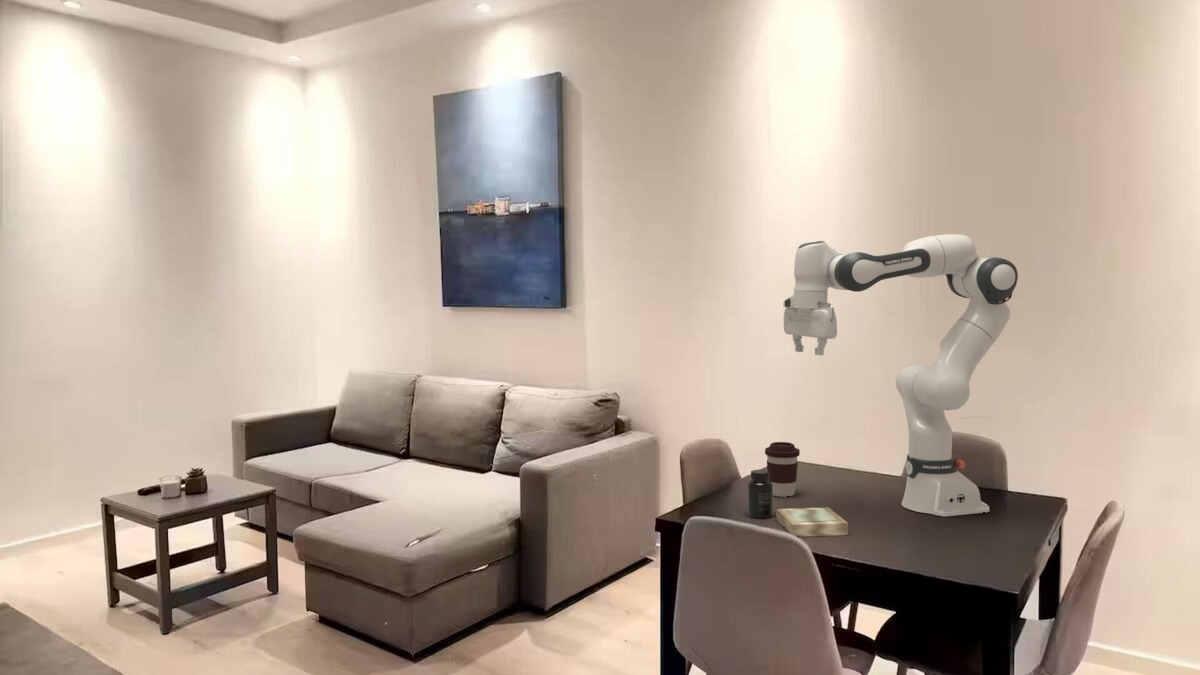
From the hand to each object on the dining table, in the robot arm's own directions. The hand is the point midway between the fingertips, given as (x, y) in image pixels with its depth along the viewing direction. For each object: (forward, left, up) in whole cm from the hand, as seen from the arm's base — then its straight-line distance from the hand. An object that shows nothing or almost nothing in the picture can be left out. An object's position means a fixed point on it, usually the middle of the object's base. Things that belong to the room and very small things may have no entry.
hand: (809, 353), depth 222 cm
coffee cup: (+2, -18, -44) cm, 47 cm away
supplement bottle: (+14, +2, -44) cm, 46 cm away
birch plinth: (+4, +14, -43) cm, 46 cm away
